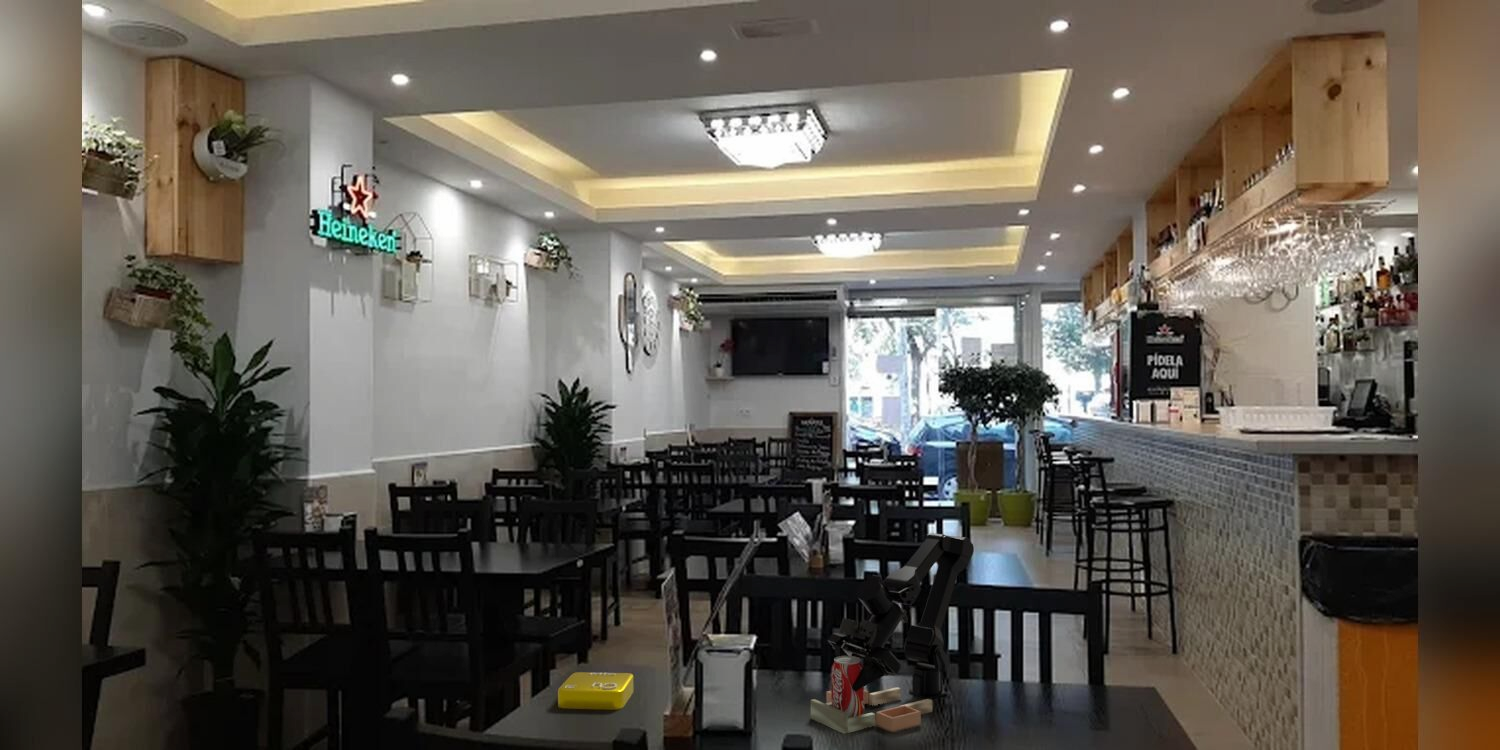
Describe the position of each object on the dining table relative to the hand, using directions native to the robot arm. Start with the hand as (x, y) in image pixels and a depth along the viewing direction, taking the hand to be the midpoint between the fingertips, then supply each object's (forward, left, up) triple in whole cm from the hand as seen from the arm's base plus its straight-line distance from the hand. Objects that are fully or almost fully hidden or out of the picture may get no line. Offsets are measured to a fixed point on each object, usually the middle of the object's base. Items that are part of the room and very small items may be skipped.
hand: (842, 685), depth 208 cm
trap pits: (-8, 0, -8) cm, 11 cm away
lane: (-9, 0, -8) cm, 12 cm away
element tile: (+37, -44, -8) cm, 58 cm away
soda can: (-1, 0, -7) cm, 7 cm away
